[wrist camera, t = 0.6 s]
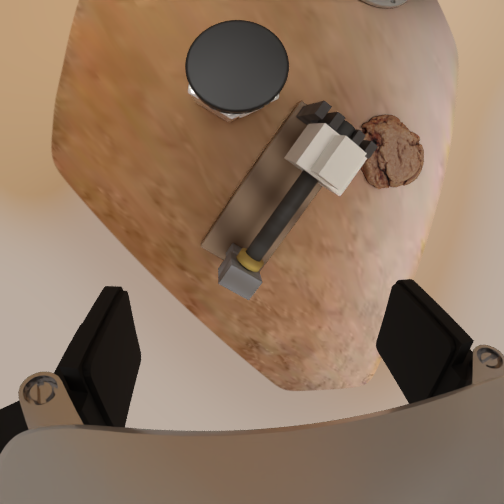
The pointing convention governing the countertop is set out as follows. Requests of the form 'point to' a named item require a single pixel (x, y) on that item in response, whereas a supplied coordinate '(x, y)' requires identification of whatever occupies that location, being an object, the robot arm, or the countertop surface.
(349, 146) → the sleeve
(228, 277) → the comb rig
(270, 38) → the jar
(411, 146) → the cookie
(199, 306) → the countertop surface
